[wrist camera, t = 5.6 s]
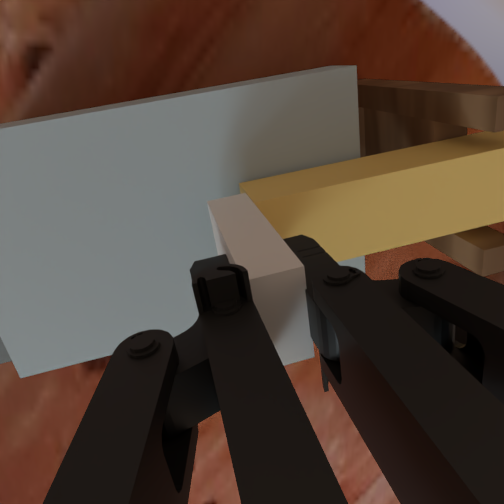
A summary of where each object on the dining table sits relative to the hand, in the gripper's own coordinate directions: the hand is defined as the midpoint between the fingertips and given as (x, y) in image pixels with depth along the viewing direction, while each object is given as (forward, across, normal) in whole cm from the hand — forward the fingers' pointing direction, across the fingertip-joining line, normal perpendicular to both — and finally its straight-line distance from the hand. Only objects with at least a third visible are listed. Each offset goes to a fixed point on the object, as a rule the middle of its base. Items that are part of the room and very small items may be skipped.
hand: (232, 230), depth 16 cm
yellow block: (+1, +7, 0) cm, 7 cm away
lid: (+4, -2, 0) cm, 4 cm away
